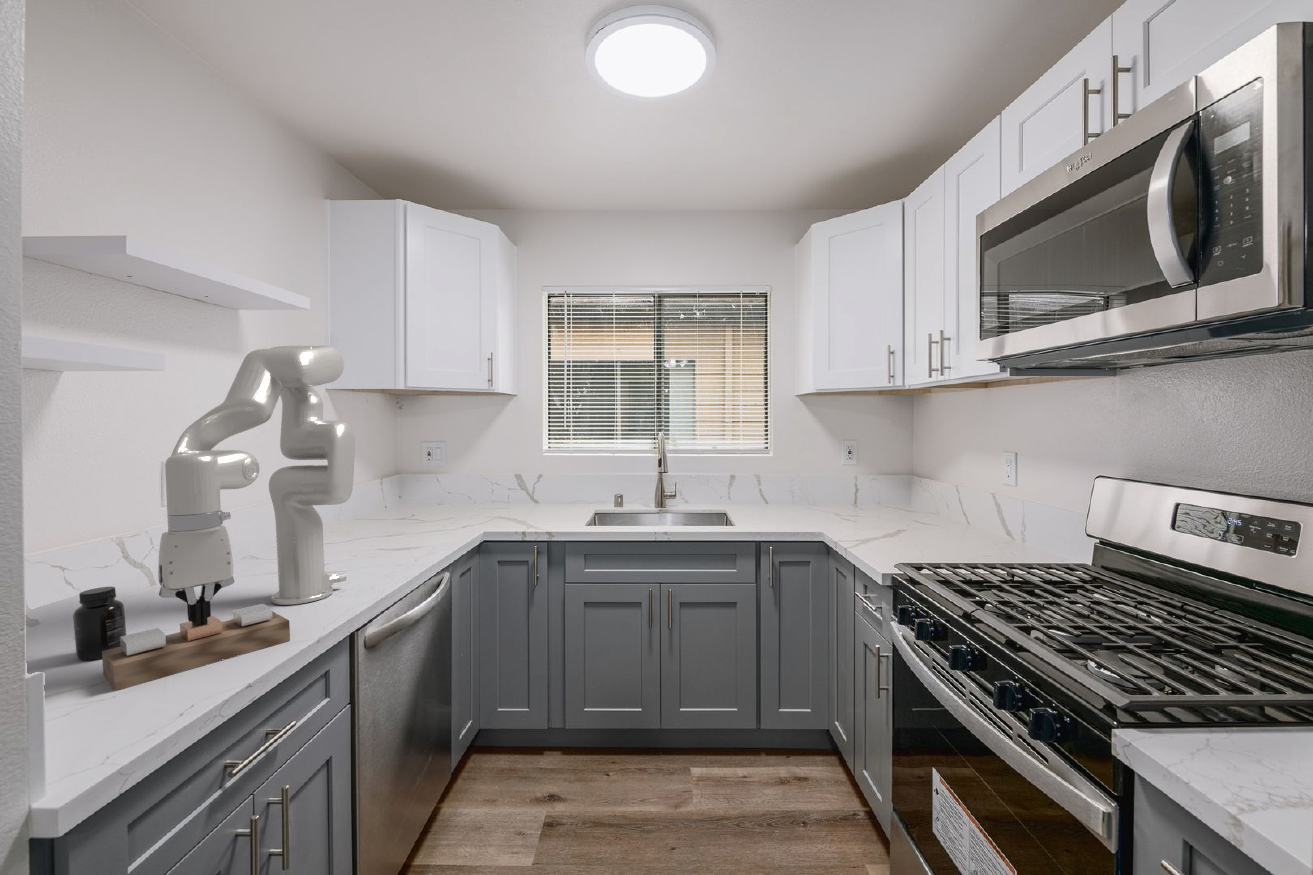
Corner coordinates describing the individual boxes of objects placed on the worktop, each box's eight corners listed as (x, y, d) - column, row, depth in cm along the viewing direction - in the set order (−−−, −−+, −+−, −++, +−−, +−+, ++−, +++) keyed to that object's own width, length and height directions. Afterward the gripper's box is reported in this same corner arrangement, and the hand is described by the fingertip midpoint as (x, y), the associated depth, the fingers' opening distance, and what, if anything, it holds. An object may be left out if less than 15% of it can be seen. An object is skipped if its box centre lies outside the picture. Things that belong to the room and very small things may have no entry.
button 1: (159, 661, 102) (158, 627, 102) (167, 668, 99) (165, 634, 99) (121, 671, 98) (119, 636, 98) (128, 679, 95) (126, 643, 95)
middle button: (215, 647, 109) (213, 615, 108) (223, 653, 105) (221, 621, 105) (181, 656, 105) (179, 623, 104) (189, 663, 102) (187, 629, 101)
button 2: (264, 633, 115) (262, 603, 115) (273, 638, 112) (272, 608, 111) (234, 641, 111) (232, 610, 111) (242, 647, 108) (241, 615, 108)
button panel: (271, 629, 118) (270, 610, 118) (290, 640, 112) (289, 620, 112) (103, 674, 98) (101, 650, 98) (115, 690, 92) (113, 666, 92)
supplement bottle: (123, 643, 112) (120, 582, 111) (130, 652, 108) (126, 588, 107) (73, 655, 107) (69, 591, 106) (78, 665, 102) (74, 598, 102)
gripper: (237, 514, 112) (241, 608, 113) (135, 526, 100) (140, 631, 101) (251, 518, 107) (255, 615, 108) (145, 531, 96) (150, 641, 96)
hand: (199, 623), depth 104 cm, fingers closed
